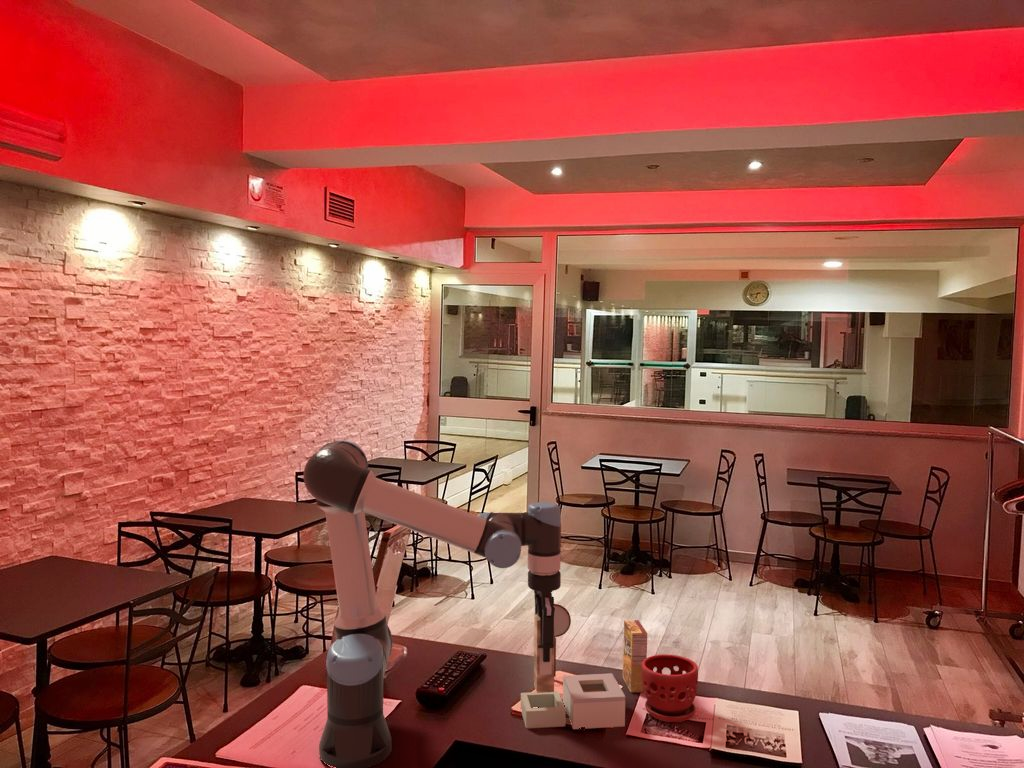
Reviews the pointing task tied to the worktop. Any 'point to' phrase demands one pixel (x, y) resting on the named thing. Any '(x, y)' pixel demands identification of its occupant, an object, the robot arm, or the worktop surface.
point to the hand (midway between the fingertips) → (543, 669)
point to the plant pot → (669, 687)
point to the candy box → (634, 654)
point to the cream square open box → (542, 709)
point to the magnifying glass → (560, 626)
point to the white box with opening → (594, 701)
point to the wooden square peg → (540, 681)
